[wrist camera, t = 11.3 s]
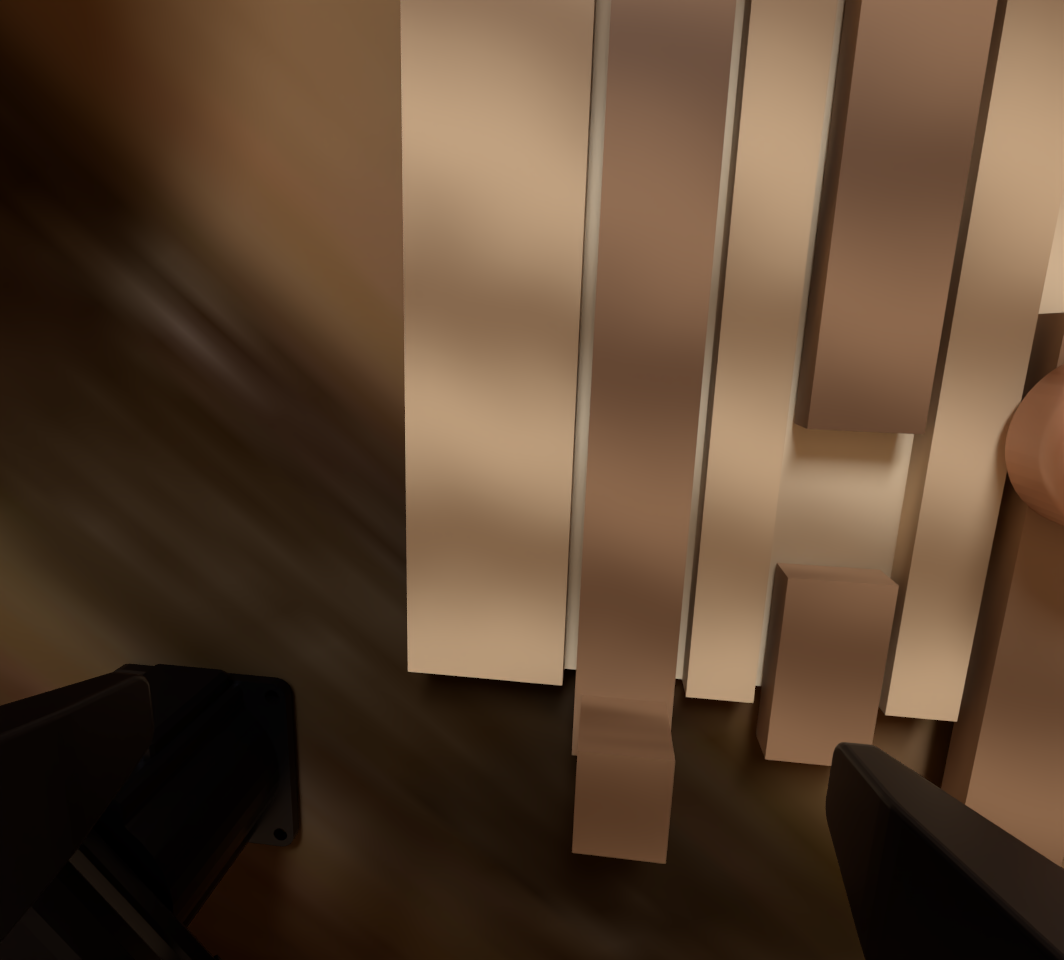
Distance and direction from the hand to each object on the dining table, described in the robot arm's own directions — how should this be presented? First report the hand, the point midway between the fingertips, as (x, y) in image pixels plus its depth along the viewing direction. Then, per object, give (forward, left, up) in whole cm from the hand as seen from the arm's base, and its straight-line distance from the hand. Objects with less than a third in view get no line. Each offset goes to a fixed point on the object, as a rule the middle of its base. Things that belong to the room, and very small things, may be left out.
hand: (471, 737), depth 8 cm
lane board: (+5, -8, -12) cm, 15 cm away
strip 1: (+3, -2, -11) cm, 11 cm away
